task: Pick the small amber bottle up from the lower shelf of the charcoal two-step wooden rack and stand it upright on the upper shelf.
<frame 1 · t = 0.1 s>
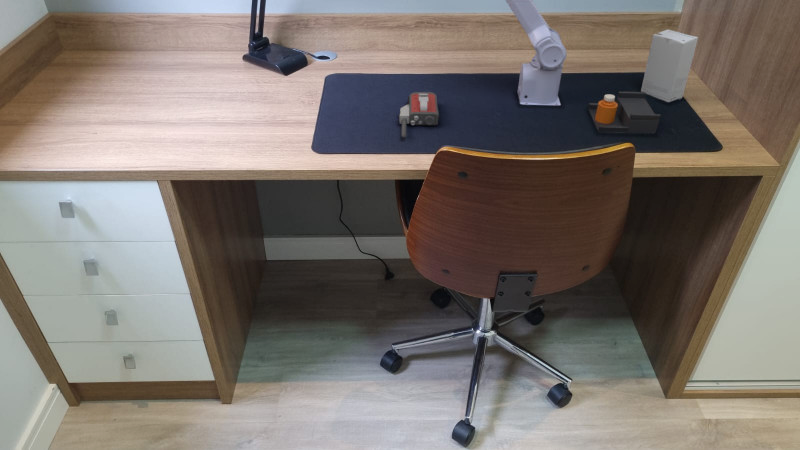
rack: (619, 122, 126), on the table
cosmetic box: (659, 96, 137), on the table
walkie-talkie: (419, 121, 128), on the table
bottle: (604, 119, 126), point 1 cm above the table, touching rack
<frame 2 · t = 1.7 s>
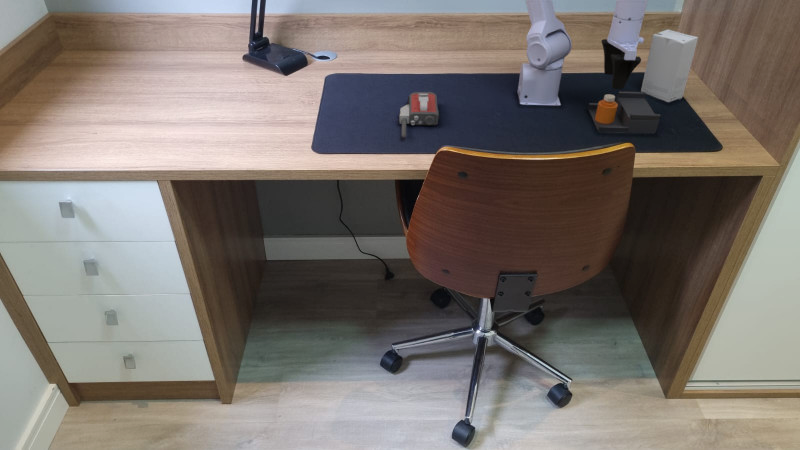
hand: (613, 80, 121), 10 cm above the table, tool pointing down, fingers open, 7 cm apart
nothing on the table moved.
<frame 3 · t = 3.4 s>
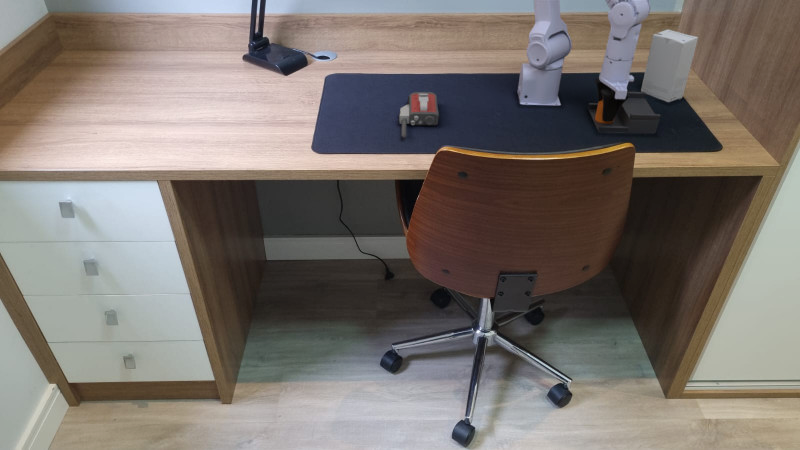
hand: (605, 115, 126), 2 cm above the table, tool pointing down, fingers closed on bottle, 4 cm apart
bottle: (604, 119, 126), point 1 cm above the table, touching gripper, rack
everything else where it was.
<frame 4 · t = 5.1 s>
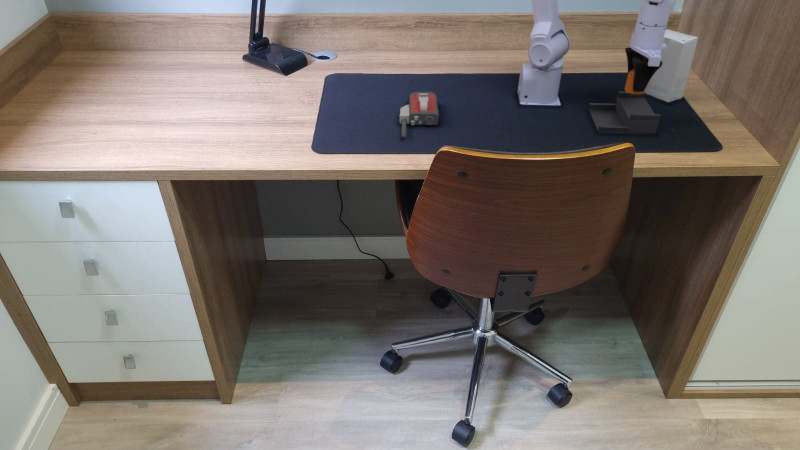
hand: (635, 86, 121), 9 cm above the table, tool pointing down, fingers closed on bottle, 4 cm apart
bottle: (634, 90, 121), point 8 cm above the table, touching gripper
everything else where it was.
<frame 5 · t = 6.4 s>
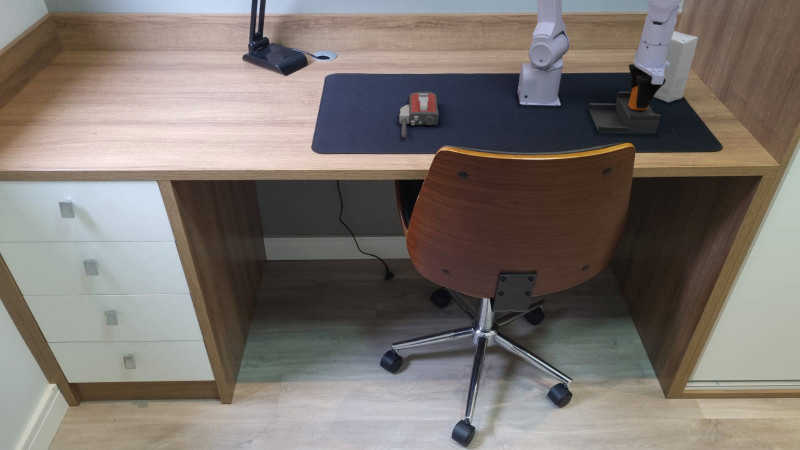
hand: (638, 102, 123), 5 cm above the table, tool pointing down, fingers closed on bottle, 4 cm apart
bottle: (637, 106, 124), point 4 cm above the table, touching gripper
everything else where it was.
when the fingers open (4 cm above the table, at t = 6.9 s): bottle stays where it is, resting on rack.
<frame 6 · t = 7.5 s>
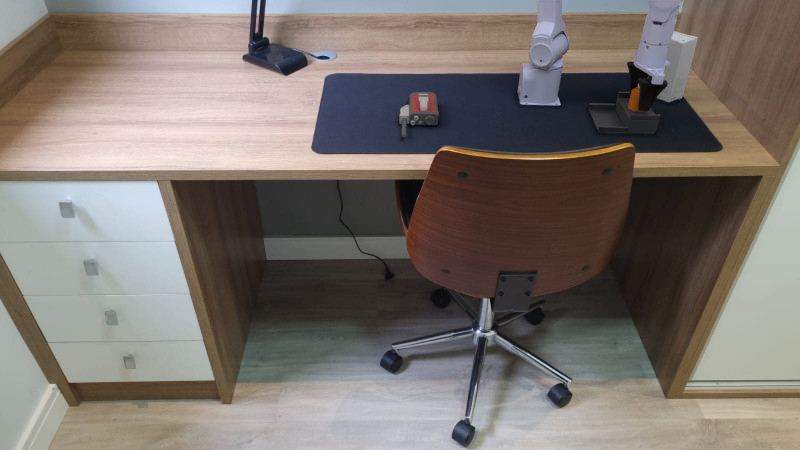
hand: (638, 102, 123), 5 cm above the table, tool pointing down, fingers open, 7 cm apart
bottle: (637, 107, 124), point 4 cm above the table, touching rack
everything else where it was.
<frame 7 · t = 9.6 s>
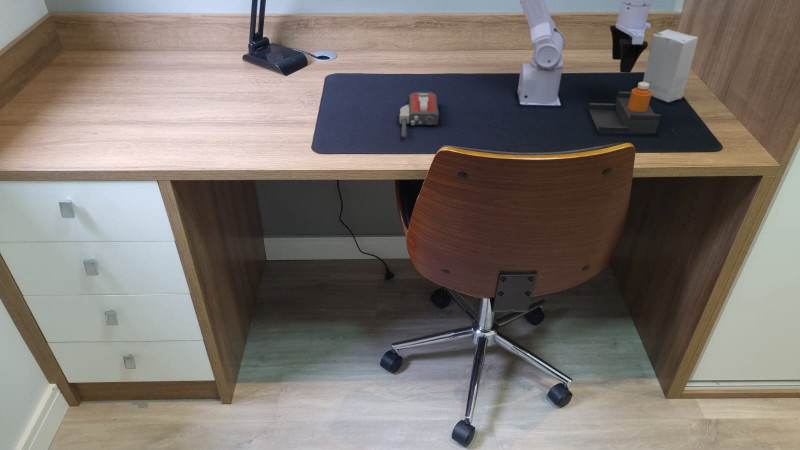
hand: (621, 65, 126), 10 cm above the table, tool pointing down, fingers open, 7 cm apart
nothing on the table moved.
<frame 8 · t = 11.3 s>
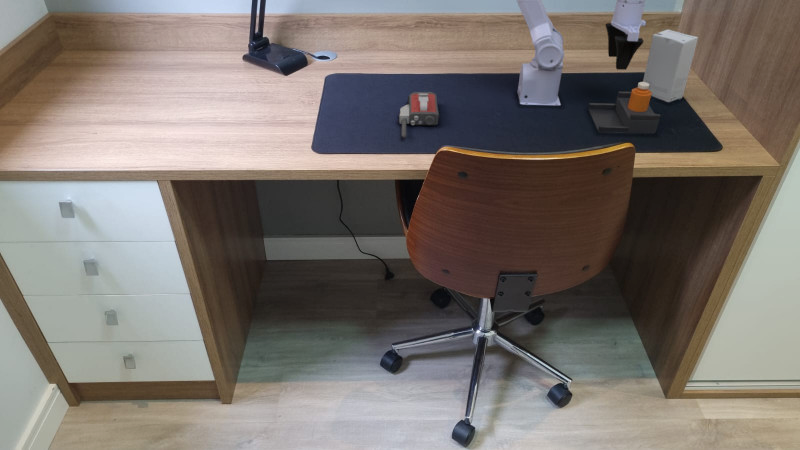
hand: (617, 62, 127), 10 cm above the table, tool pointing down, fingers open, 7 cm apart
nothing on the table moved.
at the end: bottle 0.1 cm from the target spot on the rack, point 3.6 cm above the rack's base; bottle tilted 0°; the gripper is holding nothing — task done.
